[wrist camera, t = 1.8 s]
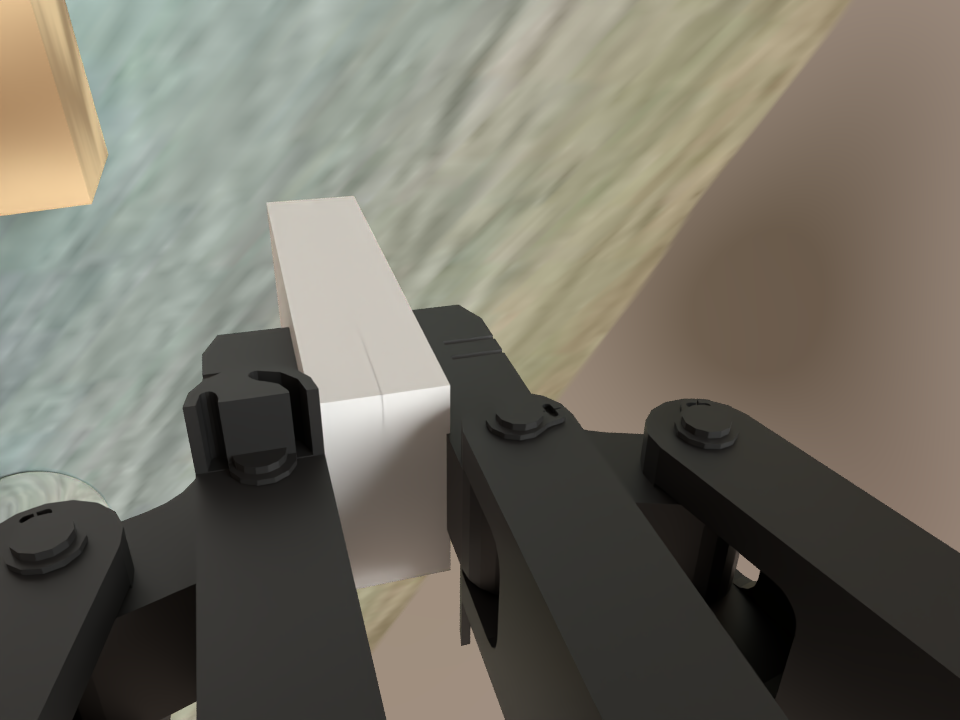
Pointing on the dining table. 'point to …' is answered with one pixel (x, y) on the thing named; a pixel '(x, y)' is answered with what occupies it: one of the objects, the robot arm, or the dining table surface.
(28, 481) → the silver metal tumbler
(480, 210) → the dining table surface
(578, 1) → the dining table surface
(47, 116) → the oak block
